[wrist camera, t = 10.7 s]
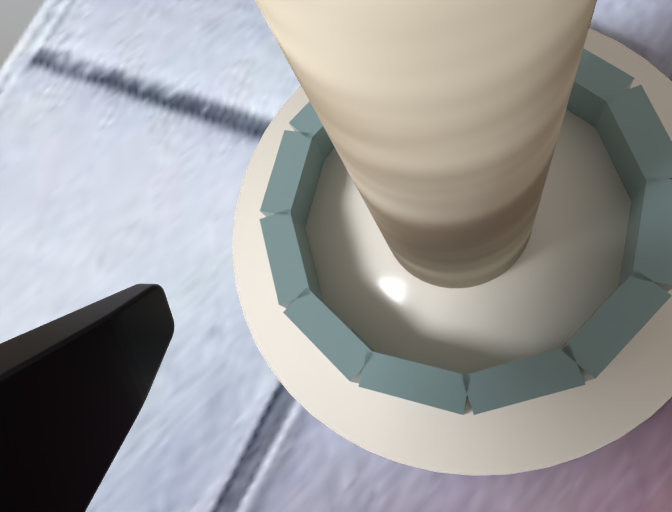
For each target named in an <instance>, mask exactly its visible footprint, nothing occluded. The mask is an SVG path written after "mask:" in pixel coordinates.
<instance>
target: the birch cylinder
mask: <svg viewBox="0 0 672 512" xmlns="http://www.w3.org/2000/svg"><path fill="white" fill-rule="evenodd" d="M255 2H256V3H257V5H258V7H259V9H260V11H261V13H262V14H263V16H264V18H265V20H266V22H267V24H268V25H269V27H270V29H271V31H272V33H273V35H274V36H275V38H276V40H277V42H278V44H279V46H280V48H281V49H282V51H283V53H284V55H285V57H286V59H287V60H288V62H289V64H290V66H291V68H292V70H293V71H294V73H295V75H296V77H297V79H298V81H299V82H300V84H301V86H302V88H303V90H304V92H305V94H306V95H307V97H308V99H309V101H310V103H311V105H312V106H313V108H314V110H315V112H316V114H317V116H318V117H319V119H320V121H321V123H322V125H323V127H324V128H325V130H326V132H327V134H328V136H329V138H330V140H331V141H332V143H333V145H334V147H335V149H336V151H337V152H338V154H339V156H340V158H341V160H342V162H343V163H344V165H345V167H346V169H347V171H348V173H349V174H350V176H351V178H352V180H353V182H354V184H355V186H356V187H357V189H358V191H359V193H360V195H361V197H362V198H363V200H364V202H365V204H366V206H367V208H368V209H369V211H370V213H371V215H372V217H373V219H374V220H375V222H376V224H377V226H378V228H379V230H380V232H381V233H382V235H383V237H384V239H385V241H386V243H387V244H388V246H389V248H390V250H391V252H392V254H393V255H394V257H395V258H396V260H397V261H398V262H399V264H400V265H401V266H402V267H403V268H404V269H405V270H406V271H408V272H409V273H410V274H412V275H413V276H415V277H416V278H418V279H420V280H421V281H424V282H426V283H429V284H431V285H435V286H439V287H444V288H469V287H474V286H478V285H481V284H484V283H487V282H489V281H491V280H493V279H495V278H497V277H499V276H500V275H502V274H503V273H504V272H506V271H507V270H508V269H509V268H510V267H511V266H512V265H514V263H515V262H516V261H517V260H518V259H519V257H520V256H521V254H522V253H523V251H524V250H525V248H526V246H527V243H528V241H529V238H530V235H531V231H532V228H533V224H534V221H535V217H536V214H537V210H538V207H539V203H540V200H541V196H542V193H543V189H544V185H545V182H546V178H547V175H548V171H549V168H550V164H551V161H552V157H553V154H554V150H555V147H556V143H557V140H558V136H559V133H560V129H561V125H562V122H563V118H564V115H565V111H566V108H567V104H568V101H569V97H570V94H571V90H572V87H573V83H574V80H575V76H576V72H577V69H578V65H579V62H580V58H581V55H582V51H583V48H584V44H585V41H586V37H587V34H588V30H589V27H590V23H591V19H592V16H593V12H594V9H595V5H596V2H597V0H255Z"/></svg>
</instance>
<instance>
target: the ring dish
mask: <svg viewBox="0 0 672 512" xmlns="http://www.w3.org/2000/svg"><path fill="white" fill-rule="evenodd" d="M233 265H234V273H235V280H236V288H237V292H238V296H239V299H240V303H241V307H242V310H243V314H244V317H245V320H246V322H247V324H248V327H249V329H250V332H251V334H252V336H253V339H254V341H255V343H256V345H257V347H258V348H259V350H260V352H261V354H262V355H263V357H264V359H265V360H266V362H267V364H268V365H269V367H270V369H271V370H272V371H273V373H274V374H275V375H276V377H277V378H278V379H279V380H280V382H281V383H282V384H283V385H284V387H285V388H286V389H287V391H288V392H289V393H290V394H291V395H292V396H293V397H294V398H295V399H296V400H297V401H298V402H299V403H300V404H301V405H302V406H303V407H304V408H305V409H306V410H307V411H308V412H309V413H310V414H312V415H313V416H314V417H315V418H317V419H318V420H319V421H321V422H322V423H323V424H325V425H326V426H327V427H329V428H330V429H332V430H333V431H334V432H336V433H337V434H338V435H340V436H342V437H344V438H345V439H347V440H349V441H351V442H353V443H355V444H356V445H358V446H360V447H362V448H364V449H365V450H367V451H369V452H372V453H375V454H377V455H380V456H382V457H385V458H388V459H390V460H393V461H395V462H398V463H401V464H404V465H408V466H413V467H417V468H421V469H425V470H430V471H434V472H440V473H451V474H461V475H471V476H478V475H504V474H515V473H520V472H526V471H532V470H537V469H543V468H548V467H551V466H554V465H557V464H561V463H564V462H567V461H570V460H573V459H576V458H579V457H582V456H585V455H587V454H589V453H591V452H593V451H595V450H597V449H599V448H601V447H603V446H605V445H607V444H609V443H611V442H613V441H615V440H617V439H619V438H621V437H622V436H624V435H625V434H626V433H628V432H629V431H631V430H632V429H634V428H635V427H637V426H638V425H639V424H641V423H642V422H644V421H645V420H647V419H648V418H650V417H651V416H652V415H653V414H654V413H655V412H656V411H657V410H658V409H659V408H660V407H662V406H663V405H664V404H665V403H666V402H667V401H668V400H669V399H670V398H671V397H672V81H671V80H670V79H669V78H667V77H666V76H665V75H664V74H663V73H662V72H660V71H659V70H658V69H657V68H656V67H654V66H653V65H652V64H651V63H650V62H649V61H647V60H646V59H645V58H643V57H642V56H640V55H638V54H637V53H635V52H634V51H632V50H631V49H629V48H628V47H626V46H625V45H623V44H621V43H620V42H618V41H616V40H614V39H612V38H610V37H608V36H605V35H603V34H601V33H599V32H597V31H595V30H593V29H591V28H589V30H588V34H587V37H586V41H585V44H584V48H583V51H582V55H581V58H580V62H579V65H578V69H577V72H576V76H575V80H574V83H573V87H572V90H571V94H570V97H569V101H568V104H567V108H566V111H565V115H564V118H563V122H562V125H561V129H560V133H559V136H558V140H557V143H556V147H555V150H554V154H553V157H552V161H551V164H550V168H549V171H548V175H547V178H546V182H545V185H544V189H543V193H542V196H541V200H540V203H539V207H538V210H537V214H536V217H535V221H534V224H533V228H532V231H531V235H530V238H529V241H528V243H527V246H526V248H525V250H524V251H523V253H522V254H521V256H520V257H519V259H518V260H517V261H516V262H515V263H514V265H512V266H511V267H510V268H509V269H508V270H507V271H506V272H504V273H503V274H502V275H500V276H499V277H497V278H495V279H493V280H491V281H489V282H487V283H484V284H481V285H478V286H474V287H469V288H444V287H439V286H435V285H431V284H429V283H426V282H424V281H421V280H420V279H418V278H416V277H415V276H413V275H412V274H410V273H409V272H408V271H406V270H405V269H404V268H403V267H402V266H401V265H400V264H399V262H398V261H397V260H396V258H395V257H394V255H393V254H392V252H391V250H390V248H389V246H388V244H387V243H386V241H385V239H384V237H383V235H382V233H381V232H380V230H379V228H378V226H377V224H376V222H375V220H374V219H373V217H372V215H371V213H370V211H369V209H368V208H367V206H366V204H365V202H364V200H363V198H362V197H361V195H360V193H359V191H358V189H357V187H356V186H355V184H354V182H353V180H352V178H351V176H350V174H349V173H348V171H347V169H346V167H345V165H344V163H343V162H342V160H341V158H340V156H339V154H338V152H337V151H336V149H335V147H334V145H333V143H332V141H331V140H330V138H329V136H328V134H327V132H326V130H325V128H324V127H323V125H322V123H321V121H320V119H319V117H318V116H317V114H316V112H315V110H314V108H313V106H312V105H311V103H310V101H309V99H308V97H307V95H306V94H305V92H304V90H303V88H302V86H300V87H299V88H298V89H297V90H296V91H295V93H294V94H293V95H292V96H291V97H290V98H289V100H288V101H287V102H286V103H285V104H284V105H283V107H282V108H281V109H280V110H279V112H278V113H277V115H276V116H275V117H274V119H273V120H272V122H271V123H270V125H269V126H268V128H267V129H266V131H265V132H264V134H263V136H262V138H261V140H260V142H259V144H258V146H257V147H256V149H255V151H254V153H253V155H252V157H251V160H250V163H249V165H248V168H247V171H246V173H245V176H244V178H243V181H242V185H241V189H240V193H239V197H238V201H237V205H236V211H235V220H234V228H233Z"/></svg>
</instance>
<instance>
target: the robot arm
mask: <svg viewBox="0 0 672 512" xmlns="http://www.w3.org/2000/svg"><path fill="white" fill-rule="evenodd" d="M173 333H174V320H173V317H172V314H171V311H170V308H169V305H168V301H167V298H166V295H165V292H164V290H163V288H162V287H161V286H159V285H158V284H136V285H134V286H132V287H129V288H127V289H125V290H122V291H120V292H118V293H115V294H113V295H111V296H109V297H106V298H104V299H102V300H99V301H97V302H95V303H93V304H90V305H88V306H86V307H83V308H81V309H79V310H76V311H74V312H72V313H70V314H67V315H65V316H63V317H60V318H58V319H56V320H54V321H51V322H49V323H47V324H44V325H42V326H40V327H38V328H35V329H33V330H31V331H28V332H26V333H24V334H21V335H19V336H17V337H15V338H12V339H10V340H8V341H5V342H3V343H1V344H0V512H85V511H86V509H87V507H88V505H89V504H90V502H91V500H92V498H93V496H94V494H95V493H96V491H97V489H98V487H99V485H100V484H101V482H102V480H103V478H104V476H105V474H106V473H107V471H108V469H109V467H110V465H111V463H112V462H113V460H114V458H115V456H116V454H117V452H118V451H119V449H120V447H121V445H122V443H123V442H124V440H125V438H126V436H127V434H128V432H129V431H130V429H131V427H132V425H133V423H134V421H135V420H136V418H137V416H138V414H139V412H140V410H141V408H142V406H143V404H144V402H145V400H146V398H147V395H148V393H149V391H150V389H151V386H152V384H153V381H154V379H155V377H156V374H157V372H158V370H159V367H160V365H161V362H162V360H163V358H164V355H165V353H166V351H167V348H168V346H169V343H170V341H171V339H172V336H173Z"/></svg>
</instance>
